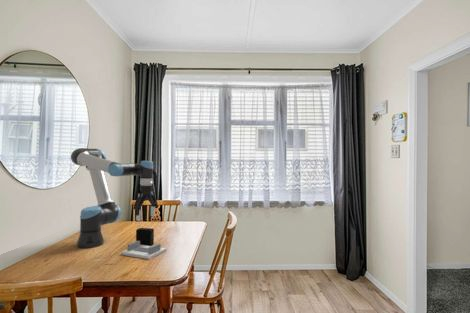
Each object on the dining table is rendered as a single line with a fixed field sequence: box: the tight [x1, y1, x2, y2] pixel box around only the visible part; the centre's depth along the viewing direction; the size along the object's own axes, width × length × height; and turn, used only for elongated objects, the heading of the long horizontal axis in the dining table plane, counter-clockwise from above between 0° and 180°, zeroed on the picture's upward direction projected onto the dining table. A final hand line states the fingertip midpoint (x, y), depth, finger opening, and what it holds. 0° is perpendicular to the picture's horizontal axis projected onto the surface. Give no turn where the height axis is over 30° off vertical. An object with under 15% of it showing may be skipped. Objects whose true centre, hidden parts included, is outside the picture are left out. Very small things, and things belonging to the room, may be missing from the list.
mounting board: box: [120, 240, 167, 260], centre depth 159 cm, size 20×15×5 cm
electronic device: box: [135, 227, 155, 246], centre depth 175 cm, size 4×10×10 cm, turn 78°
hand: (145, 218), depth 175 cm, fingers open, 13 cm apart
